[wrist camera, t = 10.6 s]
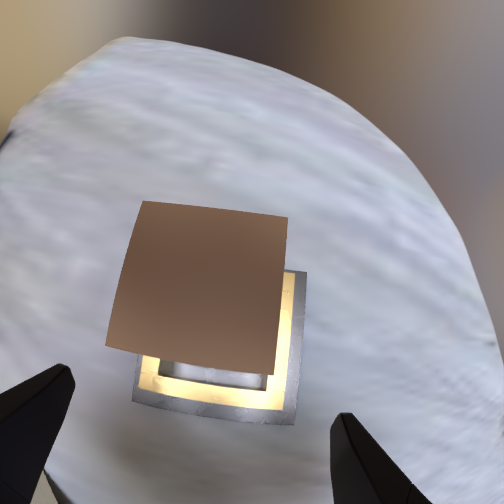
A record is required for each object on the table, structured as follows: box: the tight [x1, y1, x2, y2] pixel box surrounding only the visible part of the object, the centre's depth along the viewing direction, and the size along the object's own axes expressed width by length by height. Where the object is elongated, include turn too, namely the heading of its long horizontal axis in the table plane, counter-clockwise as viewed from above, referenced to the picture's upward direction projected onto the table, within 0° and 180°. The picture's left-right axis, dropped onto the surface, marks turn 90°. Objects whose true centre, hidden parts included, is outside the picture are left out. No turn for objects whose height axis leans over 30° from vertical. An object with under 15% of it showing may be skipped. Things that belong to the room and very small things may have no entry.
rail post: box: [105, 201, 288, 376], centre depth 13 cm, size 4×4×13 cm
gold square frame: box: [132, 269, 307, 425], centre depth 18 cm, size 11×11×4 cm
